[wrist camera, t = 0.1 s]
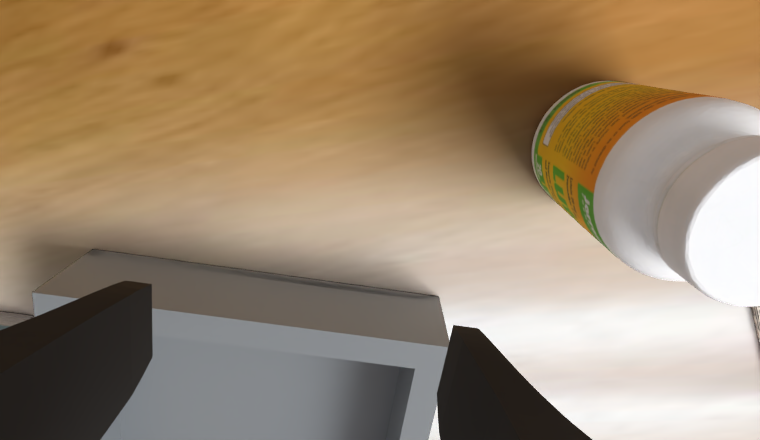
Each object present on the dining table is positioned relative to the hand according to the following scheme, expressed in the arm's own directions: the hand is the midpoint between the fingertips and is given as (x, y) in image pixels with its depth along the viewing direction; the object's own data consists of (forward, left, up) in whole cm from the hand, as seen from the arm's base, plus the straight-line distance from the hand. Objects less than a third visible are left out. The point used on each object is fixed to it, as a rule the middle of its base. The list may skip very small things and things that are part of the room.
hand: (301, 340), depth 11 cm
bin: (-12, +3, -10) cm, 16 cm away
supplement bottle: (+4, -10, -10) cm, 15 cm away
